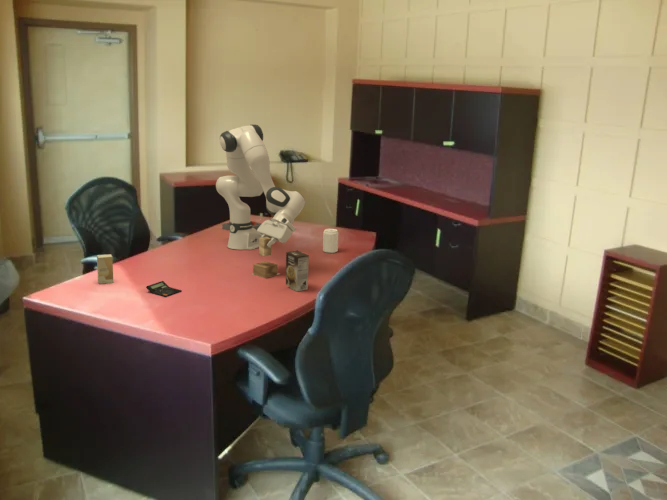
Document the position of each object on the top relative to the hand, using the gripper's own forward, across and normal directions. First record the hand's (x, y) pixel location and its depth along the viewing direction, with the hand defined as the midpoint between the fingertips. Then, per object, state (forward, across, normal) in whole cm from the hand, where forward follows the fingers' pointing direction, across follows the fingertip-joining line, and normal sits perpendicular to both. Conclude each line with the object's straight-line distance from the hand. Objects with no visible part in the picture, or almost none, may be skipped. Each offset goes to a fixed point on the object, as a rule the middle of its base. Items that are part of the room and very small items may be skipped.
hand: (264, 245), depth 294 cm
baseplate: (+10, -1, +12) cm, 16 cm away
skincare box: (+55, -34, -33) cm, 72 cm away
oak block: (+3, 0, +4) cm, 5 cm away
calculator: (+45, -7, -22) cm, 50 cm away
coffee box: (+9, +22, +13) cm, 27 cm away
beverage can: (-28, -17, +50) cm, 59 cm away
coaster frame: (-21, -87, +42) cm, 99 cm away
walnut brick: (+10, 0, +11) cm, 15 cm away
